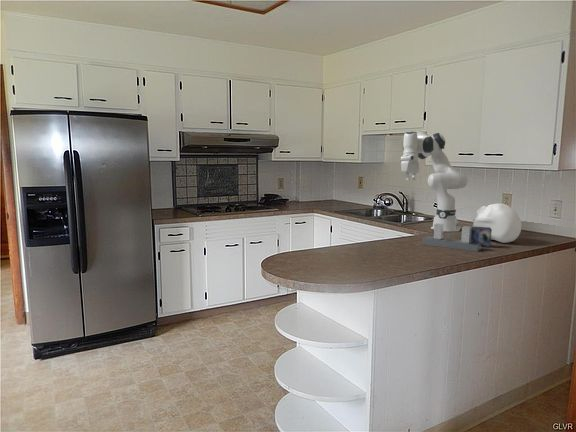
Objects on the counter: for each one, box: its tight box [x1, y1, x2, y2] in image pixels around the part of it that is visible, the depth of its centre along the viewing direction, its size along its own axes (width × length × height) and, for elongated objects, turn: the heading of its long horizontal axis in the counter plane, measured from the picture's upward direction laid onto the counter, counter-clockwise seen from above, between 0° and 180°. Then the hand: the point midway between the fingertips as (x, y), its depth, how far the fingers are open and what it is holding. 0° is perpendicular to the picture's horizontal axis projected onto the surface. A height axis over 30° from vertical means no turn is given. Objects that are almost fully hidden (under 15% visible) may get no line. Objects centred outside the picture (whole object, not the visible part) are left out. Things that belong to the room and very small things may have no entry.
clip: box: [433, 223, 445, 240], centre depth 235 cm, size 4×4×12 cm
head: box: [472, 202, 522, 244], centre depth 247 cm, size 20×28×28 cm
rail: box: [421, 225, 482, 252], centre depth 230 cm, size 7×30×12 cm, turn 51°
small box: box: [469, 225, 492, 248], centre depth 232 cm, size 11×6×10 cm, turn 73°
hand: (410, 180), depth 257 cm, fingers open, 8 cm apart
